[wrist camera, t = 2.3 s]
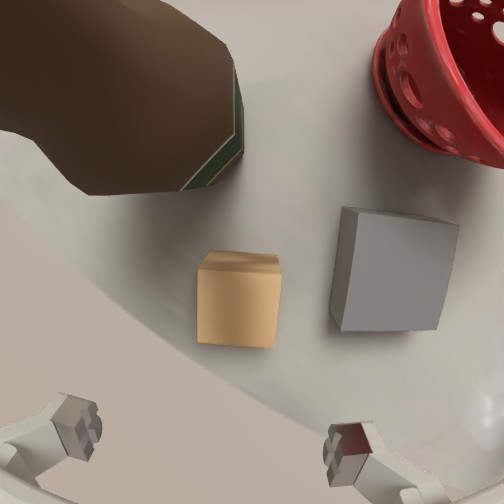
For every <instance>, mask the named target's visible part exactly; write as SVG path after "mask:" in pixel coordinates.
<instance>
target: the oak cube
mask: <svg viewBox="0 0 504 504" xmlns="http://www.w3.org/2000/svg"><path fill="white" fill-rule="evenodd" d="M281 280H282V273H281V269H280V265H279V261H278V256H277V255H271V254H257V253H243V252H228V251H214V250H210V251H209V252H208V254H207V255H206V257H205V258H204V260H203V262H202V263H201V265H200V266H199V268H198V283H197V342H200V343H210V344H221V345H234V346H247V347H263V348H274V345H275V337H276V328H277V319H278V309H279V300H280V290H281Z"/></svg>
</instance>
